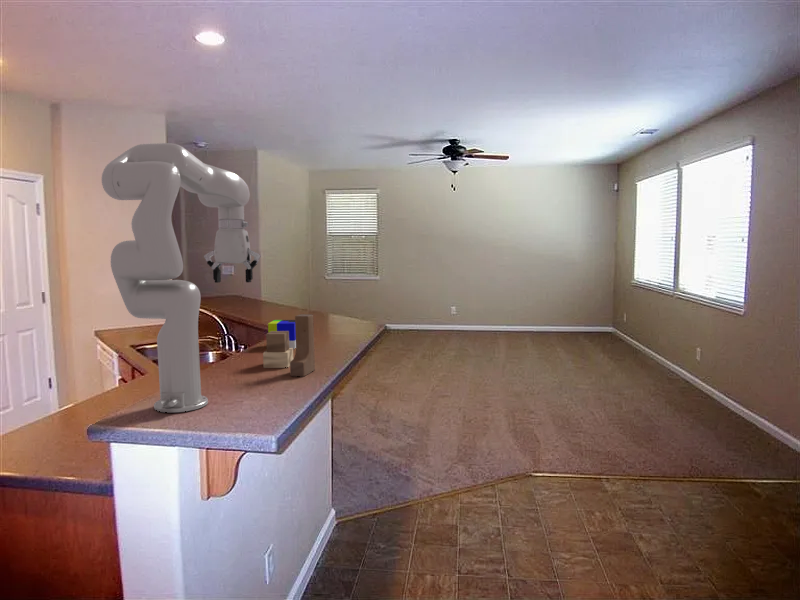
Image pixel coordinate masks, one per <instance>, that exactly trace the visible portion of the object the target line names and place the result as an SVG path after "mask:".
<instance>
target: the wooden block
mask: <svg viewBox="0 0 800 600" xmlns="http://www.w3.org/2000/svg"><path fill="white" fill-rule="evenodd" d="M294 320H295V331H296V349H295V354H294V356H293V360H292V361H291V362H290V366H289V368H290V377H297V376H300V378H303V377H306V376H307V375H309V374H310V373H313V372H314V371H315V370H316V364H315V363H316V361H315V358H316V357H315V356H316V355H315V331H314V330H315V329H314V327H315V326H314V323H315V320H314V314H304V313H303V314H297V315H295V316H294ZM312 371H313V372H312Z"/></svg>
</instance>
